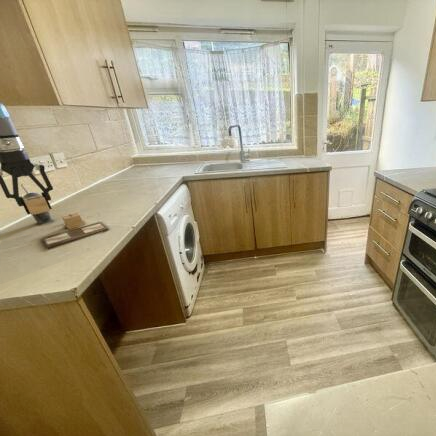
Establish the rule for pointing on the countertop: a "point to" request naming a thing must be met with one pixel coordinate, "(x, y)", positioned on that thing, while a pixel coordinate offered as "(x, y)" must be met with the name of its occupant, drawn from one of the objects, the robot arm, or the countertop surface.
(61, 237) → the word board
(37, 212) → the tan toy block
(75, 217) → the tan wooden cube
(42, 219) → the beverage cup
